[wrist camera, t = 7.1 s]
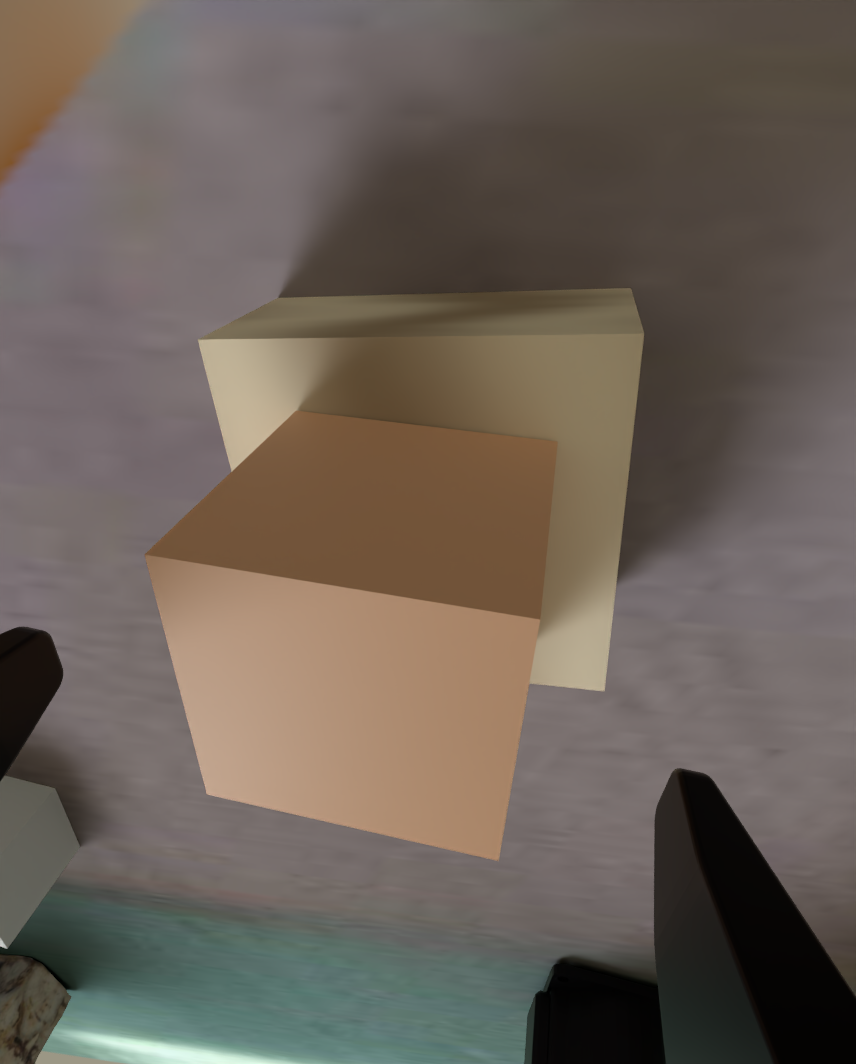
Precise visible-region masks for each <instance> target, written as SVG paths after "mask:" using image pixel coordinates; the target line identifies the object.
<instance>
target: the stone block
mask: <svg viewBox="0 0 856 1064" xmlns="http://www.w3.org/2000/svg"><path fill="white" fill-rule="evenodd" d="M70 999H71V996H70V995H69V994H68V993H67V991H66V989H65V988H64V987H63V986H62V985H61V983H60V982H58V981H57V980H56V979H55V977H54V976H53V975H52V974H51V973H50V972H49V971H48V970H47V969H46V967H45V966H44V965H43V964H41V963H40V962H37V961H35V960H33V959H32V958H30V957H25V956H18V955H1V954H0V1064H35V1061H36V1059H37V1057H38V1055H39V1053H40V1052H41V1050H42V1048H43V1047H44V1045H45V1043H46V1041H47V1040H48V1038H49V1036H50V1034H51V1033H52V1031H53V1029H54V1027H55V1026H56V1024H57V1023H58V1021H59V1020H60V1018H61V1017H62V1015H63V1013H64V1011H65V1009H66V1007H67V1005H68V1002H69V1000H70Z"/></svg>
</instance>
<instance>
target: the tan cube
mask: <svg viewBox="0 0 856 1064" xmlns="http://www.w3.org/2000/svg"><path fill="white" fill-rule="evenodd" d="M557 444H558V442H557V441H549V440H540V439H532V438H523V437H515V436H506V435H498V434H490V433H481V432H473V431H464V430H456V429H447V428H439V427H430V426H422V425H414V424H405V423H397V422H388V421H380V420H371V419H363V418H355V417H346V416H338V415H329V414H321V413H312V412H304V411H295V412H294V413H293V414H292V415H291V416H290V417H289V418H288V419H287V420H286V421H285V422H284V423H283V424H281V425H280V426H279V427H278V428H277V429H276V430H275V431H274V432H273V433H272V434H271V435H270V436H269V437H268V438H267V439H266V440H265V441H264V442H263V443H261V444H260V445H259V446H258V447H257V448H256V449H255V450H254V451H253V452H252V453H251V454H250V455H249V456H248V457H247V458H246V459H245V460H244V461H243V462H241V463H240V464H239V465H238V466H237V467H236V468H235V469H234V470H233V471H232V472H231V473H230V474H229V475H228V476H227V477H226V478H225V479H224V480H223V481H221V482H220V483H219V484H218V485H217V486H216V487H215V488H214V489H213V490H212V491H211V492H210V493H209V494H208V495H207V496H206V497H205V498H204V499H203V500H201V501H200V502H199V503H198V504H197V505H196V506H195V507H194V508H193V509H192V510H191V511H190V512H189V513H188V514H187V515H186V516H185V517H184V518H182V519H181V520H180V521H179V522H178V523H177V524H176V525H175V526H174V527H173V528H172V529H171V530H170V531H169V532H168V533H167V534H166V535H165V536H164V537H162V538H161V539H160V540H159V541H158V542H157V543H156V544H155V545H154V546H153V547H152V548H151V549H150V550H149V551H148V552H147V553H146V554H145V558H146V562H147V566H148V570H149V574H150V578H151V581H152V585H153V589H154V593H155V597H156V601H157V604H158V608H159V612H160V616H161V620H162V624H163V628H164V631H165V635H166V639H167V643H168V647H169V651H170V654H171V658H172V662H173V666H174V670H175V674H176V677H177V681H178V685H179V689H180V693H181V697H182V700H183V704H184V708H185V712H186V716H187V720H188V723H189V727H190V731H191V735H192V739H193V743H194V746H195V750H196V754H197V758H198V762H199V766H200V769H201V773H202V777H203V781H204V785H205V789H206V792H207V795H212V796H216V797H220V798H225V799H229V800H234V801H238V802H242V803H247V804H251V805H255V806H260V807H264V808H269V809H273V810H277V811H282V812H286V813H291V814H295V815H299V816H304V817H308V818H312V819H317V820H321V821H326V822H330V823H334V824H339V825H343V826H348V827H352V828H356V829H361V830H365V831H369V832H374V833H378V834H383V835H387V836H391V837H396V838H400V839H405V840H409V841H413V842H418V843H422V844H427V845H431V846H435V847H440V848H444V849H448V850H453V851H457V852H462V853H466V854H470V855H475V856H479V857H484V858H488V859H492V860H497V861H499V855H500V850H501V844H502V838H503V832H504V826H505V821H506V815H507V809H508V803H509V798H510V792H511V786H512V780H513V774H514V769H515V763H516V757H517V751H518V746H519V740H520V734H521V728H522V722H523V717H524V711H525V705H526V699H527V694H528V688H529V682H530V676H531V670H532V665H533V659H534V653H535V647H536V641H537V636H538V630H539V624H540V617H541V607H542V597H543V587H544V577H545V567H546V556H547V546H548V536H549V526H550V516H551V505H552V495H553V485H554V475H555V465H556V455H557Z"/></svg>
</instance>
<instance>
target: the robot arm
mask: <svg viewBox="0 0 856 1064" xmlns="http://www.w3.org/2000/svg"><path fill="white" fill-rule="evenodd" d="M62 679H63V668H62V665H61V662H60V659H59V656H58V654H57V651H56V648H55V645H54V642H53V640H52V637H51V636H50V634H48V633H47V632H46V631H43V630H38V629H34V628H29V627H17V628H14V629H11V630H9V631H7V632H4V633H2V634H0V781H1V780H2V779H3V777H4V776H5V774H6V773H7V771H8V769H9V768H10V766H11V765H12V763H13V762H14V760H15V758H16V757H17V755H18V754H19V752H20V750H21V749H22V747H23V745H24V744H25V742H26V741H27V739H28V737H29V736H30V734H31V732H32V731H33V729H34V728H35V726H36V724H37V723H38V721H39V719H40V718H41V716H42V715H43V713H44V711H45V710H46V708H47V706H48V705H49V703H50V701H51V700H52V698H53V697H54V695H55V693H56V692H57V690H58V688H59V687H60V685H61V682H62ZM654 946H655V959H656V971H657V981H658V989H656V988H652V987H648V986H645V985H641V984H637V983H633V982H630V981H626V980H622V979H618V978H615V977H611V976H607V975H603V974H600V973H596V972H592V971H588V970H585V969H581V968H577V967H573V966H570V965H566V964H555V965H554V966H553V967H552V969H551V972H550V975H549V977H548V980H547V982H546V985H545V988H544V990H543V991H541V990H540V991H539V992H538V993H537V994H535V997H534V999H533V1002H532V1005H531V1008H530V1010H529V1013H528V1017H527V1032H526V1047H525V1061H524V1064H856V996H855V995H854V993H853V992H852V990H851V989H850V987H849V986H848V984H847V982H846V981H845V979H844V978H843V976H842V975H841V973H840V972H839V970H838V969H837V967H836V966H835V964H834V963H833V961H832V960H831V958H830V957H829V955H828V954H827V952H826V951H825V949H824V948H823V946H822V945H821V943H820V942H819V940H818V939H817V937H816V936H815V934H814V932H813V931H812V929H811V928H810V926H809V925H808V923H807V922H806V920H805V919H804V917H803V916H802V914H801V913H800V911H799V910H798V908H797V907H796V905H795V904H794V902H793V901H792V899H791V898H790V896H789V895H788V893H787V892H786V890H785V889H784V887H783V886H782V884H781V882H780V881H779V879H778V878H777V876H776V875H775V873H774V872H773V870H772V869H771V867H770V866H769V864H768V863H767V861H766V860H765V858H764V857H763V855H762V854H761V852H760V851H759V849H758V848H757V846H756V845H755V843H754V842H753V840H752V839H751V837H750V836H749V834H748V832H747V831H746V829H745V828H744V826H743V825H742V823H741V822H740V820H739V819H738V817H737V816H736V814H735V813H734V811H733V810H732V808H731V807H730V805H729V804H728V802H727V801H726V799H725V798H724V796H723V795H722V793H721V792H720V790H719V789H718V787H717V786H716V784H715V782H714V781H713V780H712V779H711V778H710V777H709V776H708V775H706V774H704V773H700V772H695V771H691V770H686V769H682V768H677V769H675V770H674V771H673V772H672V774H671V776H670V778H669V780H668V782H667V785H666V787H665V789H664V791H663V793H662V796H661V798H660V800H659V802H658V805H657V808H656V814H655V844H654Z"/></svg>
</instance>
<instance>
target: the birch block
mask: <svg viewBox="0 0 856 1064" xmlns="http://www.w3.org/2000/svg"><path fill="white" fill-rule="evenodd" d="M643 340H644V331H643V328H642V324H641V321H640V317H639V314H638V311H637V307H636V304H635V300H634V297H633V293H632V290H631V288H613V289H577V290H542V291H506V292H471V293H435V294H399V295H364V296H328V297H292V298H277V299H275V300H273V301H271V302H269V303H267V304H265V305H263V306H261V307H260V308H258V309H256V310H254V311H252V312H250V313H248V314H246V315H244V316H242V317H240V318H238V319H236V320H235V321H233V322H231V323H229V324H227V325H225V326H223V327H221V328H219V329H217V330H215V331H213V332H211V333H210V334H208V335H206V336H204V337H202V338H200V339H198V342H199V346H200V350H201V354H202V358H203V362H204V366H205V370H206V373H207V377H208V381H209V385H210V389H211V393H212V397H213V401H214V405H215V409H216V412H217V416H218V420H219V424H220V428H221V432H222V436H223V440H224V444H225V447H226V451H227V455H228V459H229V463H230V467H231V471H233V470H234V469H235V468H236V467H237V466H238V465H239V464H240V463H241V462H243V461H244V460H245V459H246V458H247V457H248V456H249V455H250V454H251V453H252V452H253V451H254V450H255V449H256V448H257V447H258V446H259V445H260V444H261V443H263V442H264V441H265V440H266V439H267V438H268V437H269V436H270V435H271V434H272V433H273V432H274V431H275V430H276V429H277V428H278V427H279V426H280V425H281V424H283V423H284V422H285V421H286V420H287V419H288V418H289V417H290V416H291V415H292V414H293V413H294V412H295V411H304V412H312V413H321V414H329V415H338V416H346V417H355V418H363V419H371V420H380V421H388V422H397V423H405V424H414V425H422V426H430V427H439V428H447V429H456V430H464V431H473V432H481V433H490V434H498V435H506V436H515V437H523V438H532V439H540V440H549V441H557V442H558V444H557V455H556V465H555V475H554V485H553V495H552V505H551V516H550V526H549V536H548V546H547V556H546V567H545V577H544V587H543V597H542V607H541V617H540V624H539V630H538V636H537V641H536V647H535V653H534V659H533V665H532V670H531V676H530V682H529V683H531V684H540V685H550V686H559V687H569V688H578V689H588V690H597V691H604V690H605V681H606V672H607V663H608V654H609V645H610V636H611V627H612V618H613V609H614V600H615V591H616V582H617V573H618V564H619V555H620V546H621V537H622V528H623V520H624V511H625V502H626V493H627V484H628V475H629V466H630V457H631V448H632V439H633V430H634V421H635V412H636V403H637V394H638V385H639V376H640V367H641V358H642V349H643Z"/></svg>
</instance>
